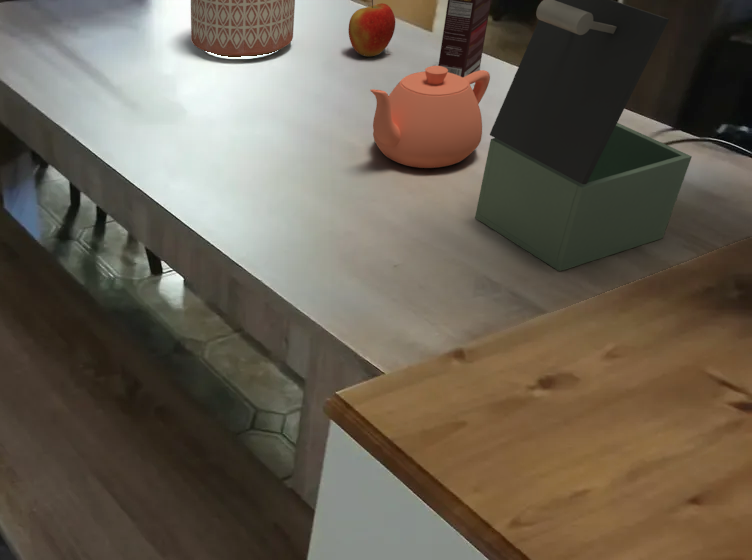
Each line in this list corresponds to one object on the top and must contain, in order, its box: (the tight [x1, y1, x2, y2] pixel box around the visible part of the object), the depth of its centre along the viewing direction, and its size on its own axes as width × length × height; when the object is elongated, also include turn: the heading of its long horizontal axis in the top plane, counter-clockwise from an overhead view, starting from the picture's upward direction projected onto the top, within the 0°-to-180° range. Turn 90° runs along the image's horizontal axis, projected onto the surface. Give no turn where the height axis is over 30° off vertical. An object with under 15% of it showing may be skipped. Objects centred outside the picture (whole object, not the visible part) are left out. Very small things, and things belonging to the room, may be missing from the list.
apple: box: [348, 0, 396, 57], centre depth 166 cm, size 8×8×10 cm
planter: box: [190, 0, 296, 57], centre depth 171 cm, size 19×19×15 cm
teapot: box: [369, 65, 491, 169], centre depth 133 cm, size 22×15×12 cm
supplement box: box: [437, 0, 492, 77], centre depth 154 cm, size 9×5×16 cm, turn 144°
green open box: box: [474, 122, 692, 272], centre depth 116 cm, size 17×16×11 cm
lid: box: [489, 0, 670, 184], centre depth 103 cm, size 18×16×7 cm
